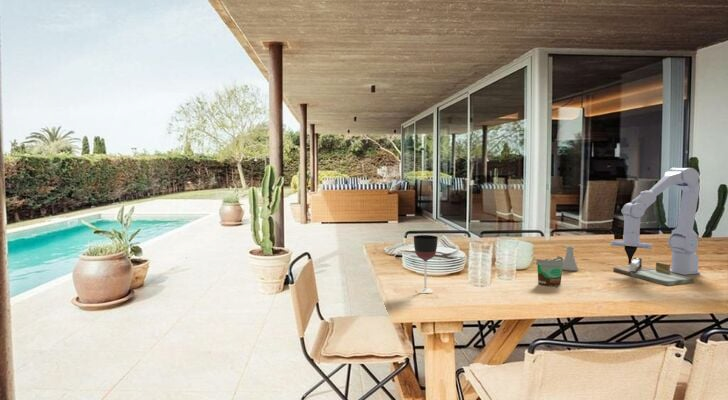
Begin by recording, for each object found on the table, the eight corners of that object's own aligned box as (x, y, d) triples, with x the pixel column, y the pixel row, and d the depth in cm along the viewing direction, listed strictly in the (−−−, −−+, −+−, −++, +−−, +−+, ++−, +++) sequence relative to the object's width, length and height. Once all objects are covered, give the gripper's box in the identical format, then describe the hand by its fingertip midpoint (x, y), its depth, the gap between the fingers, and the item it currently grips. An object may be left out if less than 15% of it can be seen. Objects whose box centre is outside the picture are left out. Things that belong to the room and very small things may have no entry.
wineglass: (432, 295, 158) (432, 239, 156) (409, 292, 162) (409, 237, 161) (440, 290, 164) (441, 236, 163) (419, 286, 169) (419, 234, 167)
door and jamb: (638, 268, 196) (638, 257, 195) (693, 282, 173) (694, 269, 173) (613, 271, 192) (613, 259, 191) (666, 285, 169) (667, 272, 168)
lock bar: (633, 265, 195) (634, 257, 195) (641, 266, 193) (642, 258, 193) (628, 271, 184) (628, 262, 184) (636, 272, 182) (636, 263, 182)
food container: (548, 288, 166) (549, 262, 165) (535, 284, 171) (536, 259, 170) (571, 284, 171) (572, 258, 170) (557, 280, 177) (558, 255, 176)
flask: (580, 271, 191) (581, 248, 190) (562, 271, 193) (563, 248, 192) (576, 267, 198) (576, 245, 198) (558, 267, 200) (559, 245, 199)
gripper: (611, 231, 186) (609, 263, 187) (652, 234, 178) (650, 268, 179) (612, 229, 192) (610, 260, 193) (652, 232, 184) (650, 265, 185)
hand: (629, 264), depth 187 cm, fingers closed, pressing on lock bar
